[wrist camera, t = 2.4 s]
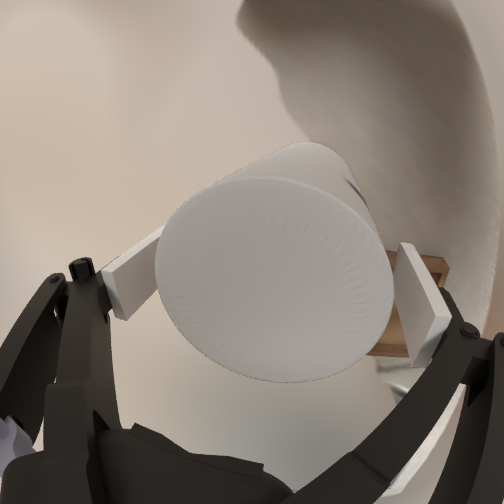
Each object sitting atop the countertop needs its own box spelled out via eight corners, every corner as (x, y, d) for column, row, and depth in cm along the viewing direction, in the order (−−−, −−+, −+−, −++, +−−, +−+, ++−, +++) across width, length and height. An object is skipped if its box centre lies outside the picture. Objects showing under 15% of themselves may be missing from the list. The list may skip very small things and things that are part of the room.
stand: (330, 244, 30) (330, 254, 28) (442, 257, 26) (449, 267, 24) (316, 337, 36) (315, 350, 34) (410, 345, 33) (412, 357, 30)
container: (361, 225, 28) (391, 378, 11) (273, 240, 31) (202, 382, 14) (343, 133, 24) (379, 148, 7) (249, 154, 28) (119, 214, 10)
